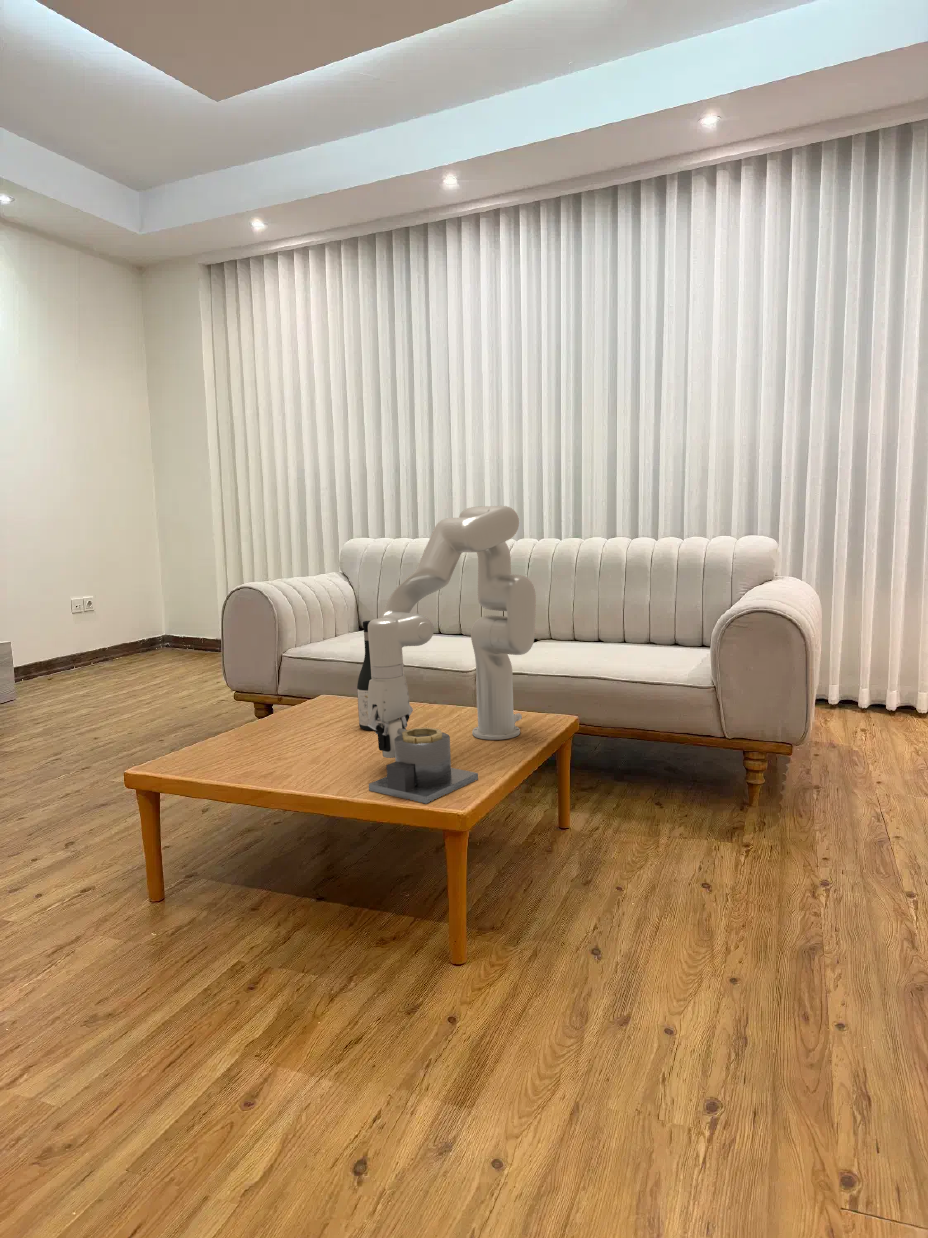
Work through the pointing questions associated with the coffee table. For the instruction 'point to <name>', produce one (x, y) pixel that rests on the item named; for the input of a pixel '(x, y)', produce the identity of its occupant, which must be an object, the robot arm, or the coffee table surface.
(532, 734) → the coffee table surface
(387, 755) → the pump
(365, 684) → the wine bottle
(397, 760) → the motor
